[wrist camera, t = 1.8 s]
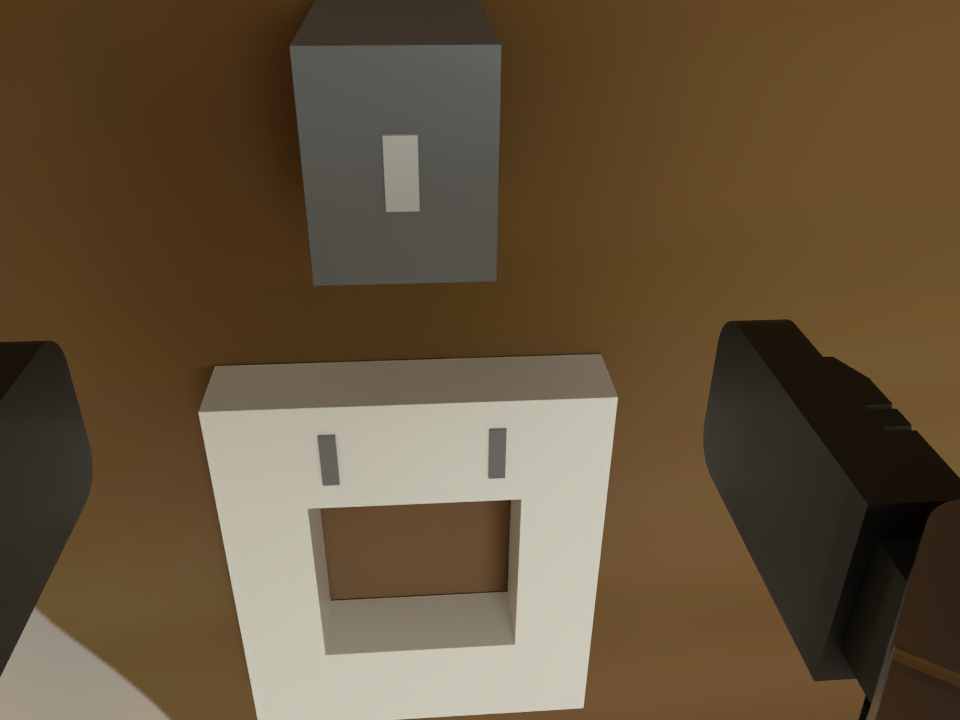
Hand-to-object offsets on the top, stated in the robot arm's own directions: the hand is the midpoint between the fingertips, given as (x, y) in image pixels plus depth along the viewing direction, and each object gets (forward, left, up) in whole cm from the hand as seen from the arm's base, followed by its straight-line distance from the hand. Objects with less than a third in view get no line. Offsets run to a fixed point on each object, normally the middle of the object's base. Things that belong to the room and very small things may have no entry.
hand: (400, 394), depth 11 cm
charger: (0, 0, -14) cm, 14 cm away
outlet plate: (+15, 0, -14) cm, 20 cm away
